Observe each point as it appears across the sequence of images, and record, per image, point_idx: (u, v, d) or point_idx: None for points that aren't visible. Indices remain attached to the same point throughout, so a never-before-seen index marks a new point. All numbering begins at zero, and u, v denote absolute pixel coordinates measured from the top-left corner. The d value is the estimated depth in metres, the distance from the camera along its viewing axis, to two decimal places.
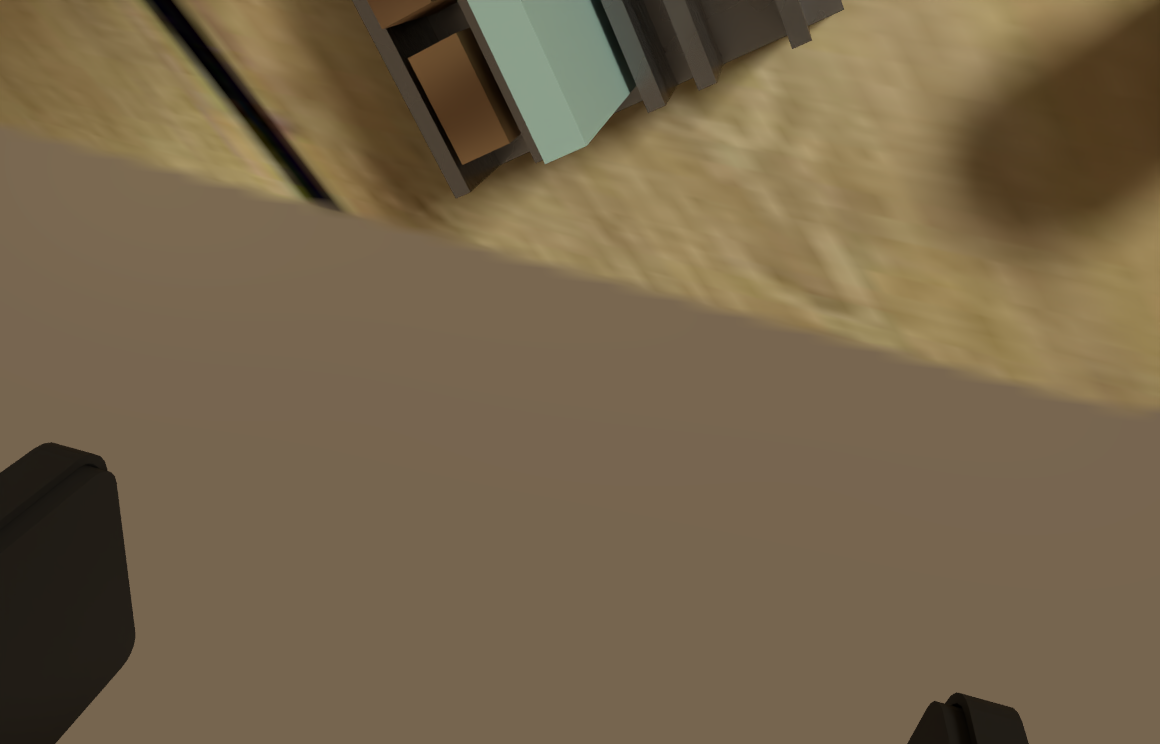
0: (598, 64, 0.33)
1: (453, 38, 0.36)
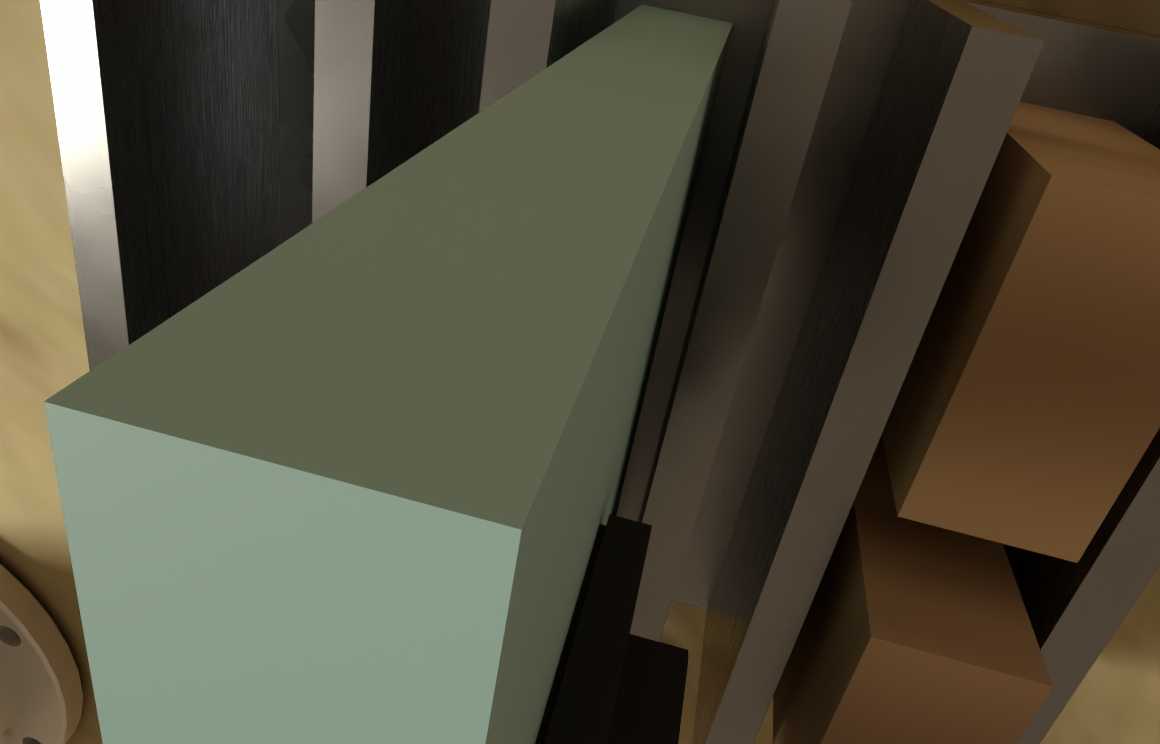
0: None
1: (917, 512, 0.12)
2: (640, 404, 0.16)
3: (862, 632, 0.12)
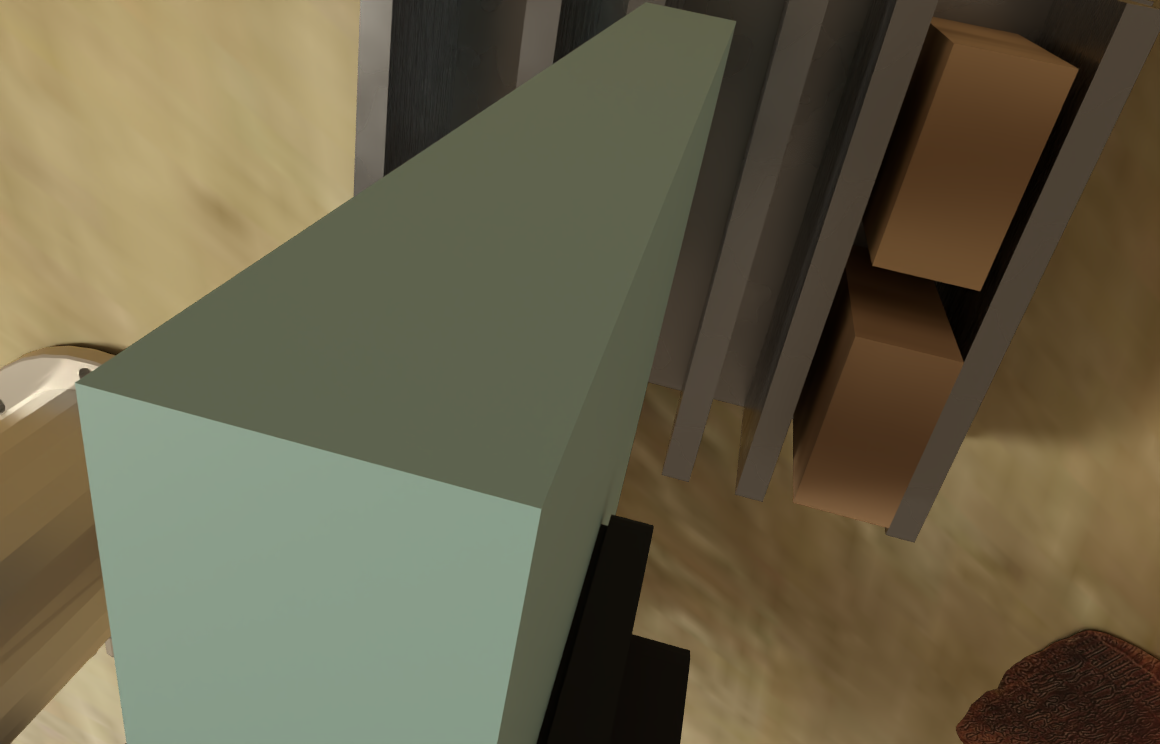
0: None
1: (884, 262, 0.20)
2: (641, 400, 0.16)
3: (850, 339, 0.20)
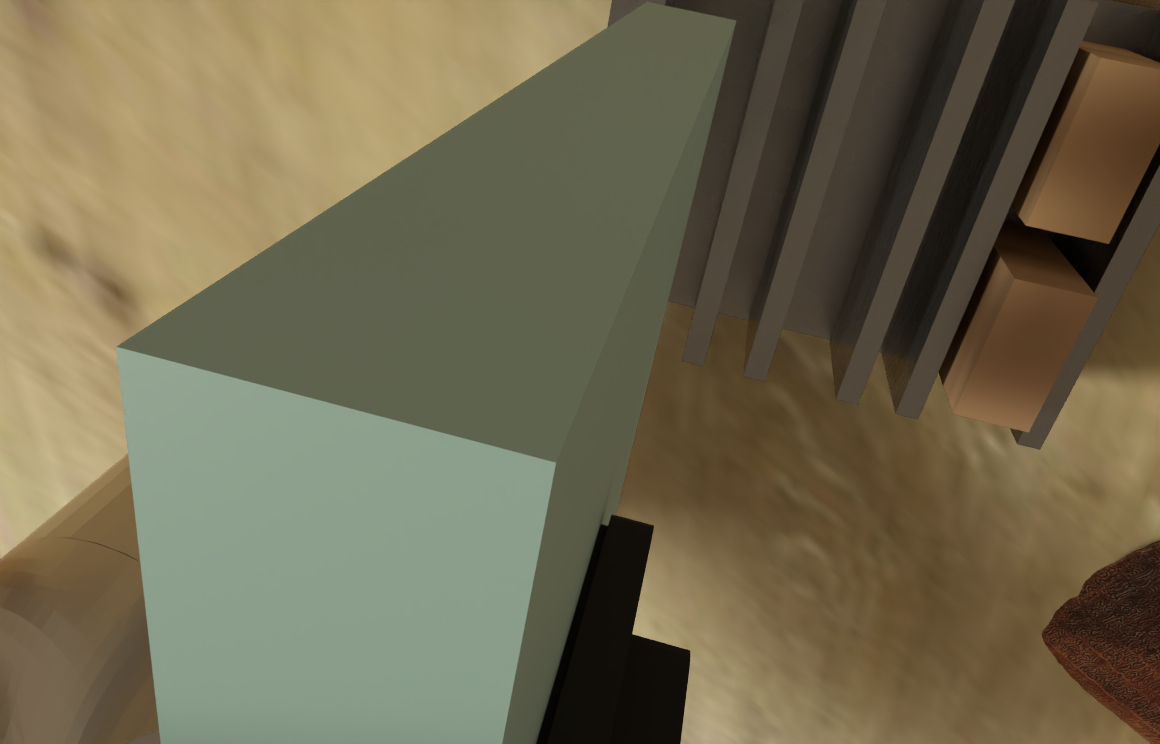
0: None
1: (1035, 222, 0.26)
2: (643, 396, 0.17)
3: (1008, 282, 0.27)
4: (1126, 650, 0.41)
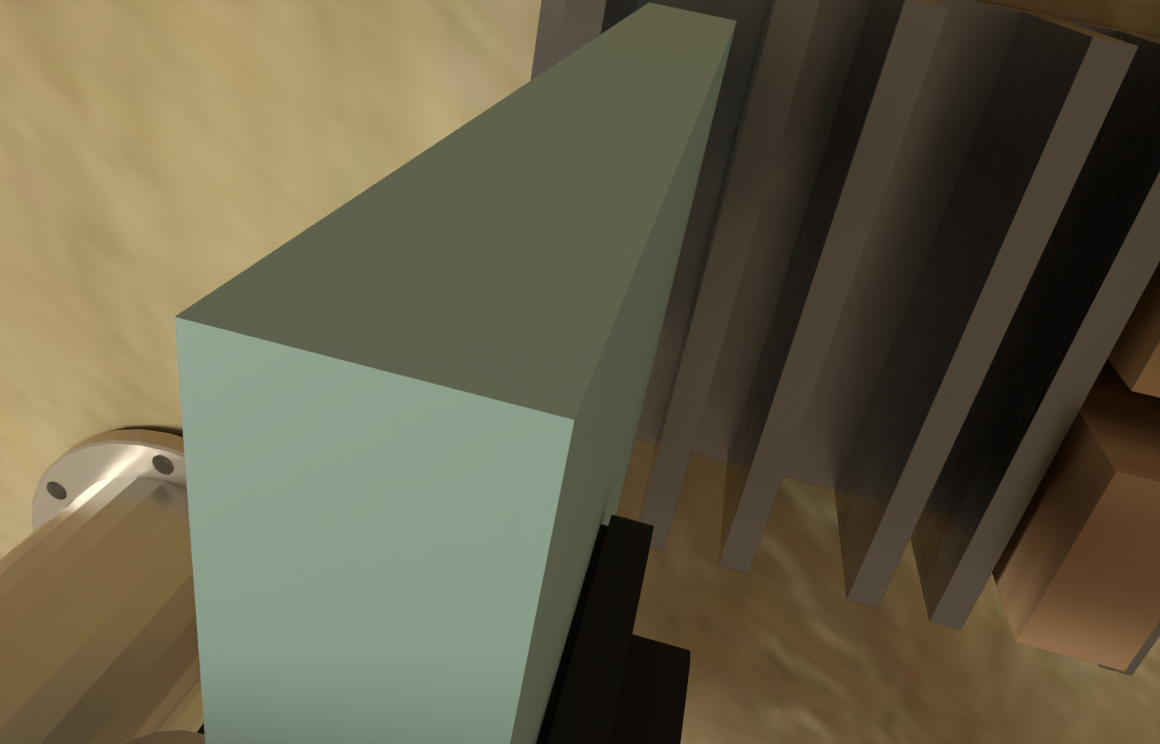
0: None
1: (1146, 387, 0.18)
2: (644, 389, 0.17)
3: (1104, 472, 0.18)
4: None
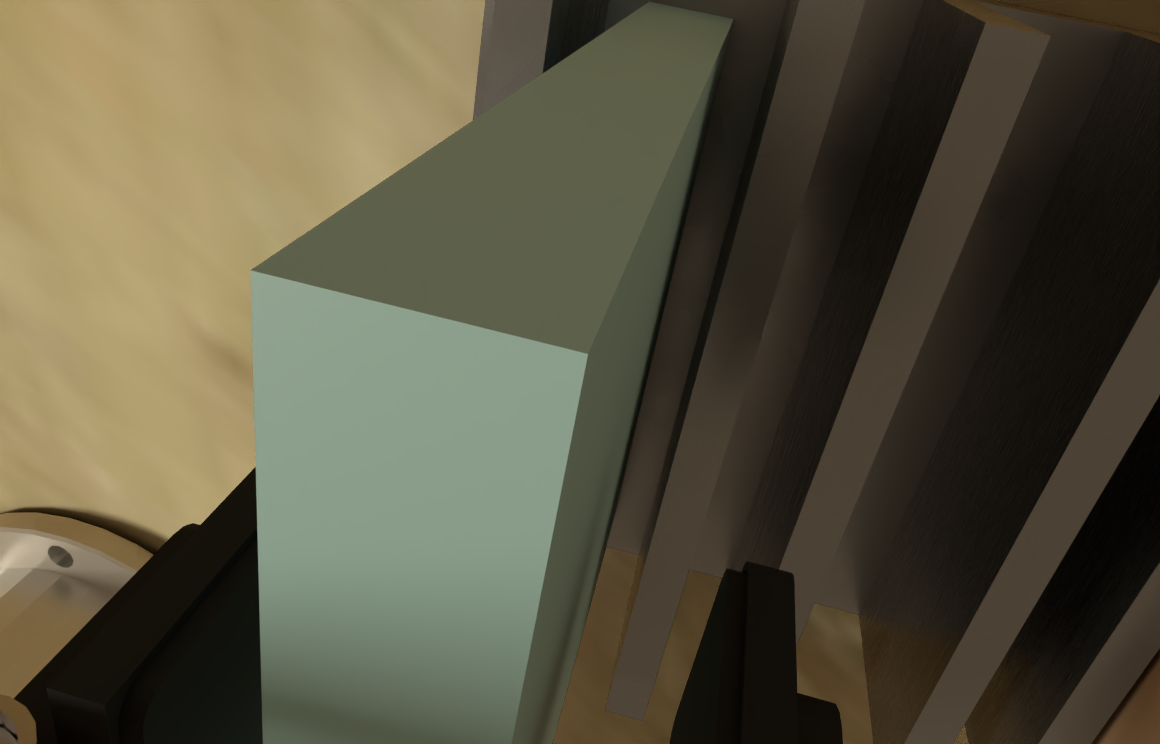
0: None
1: None
2: (646, 375, 0.18)
3: None
4: None
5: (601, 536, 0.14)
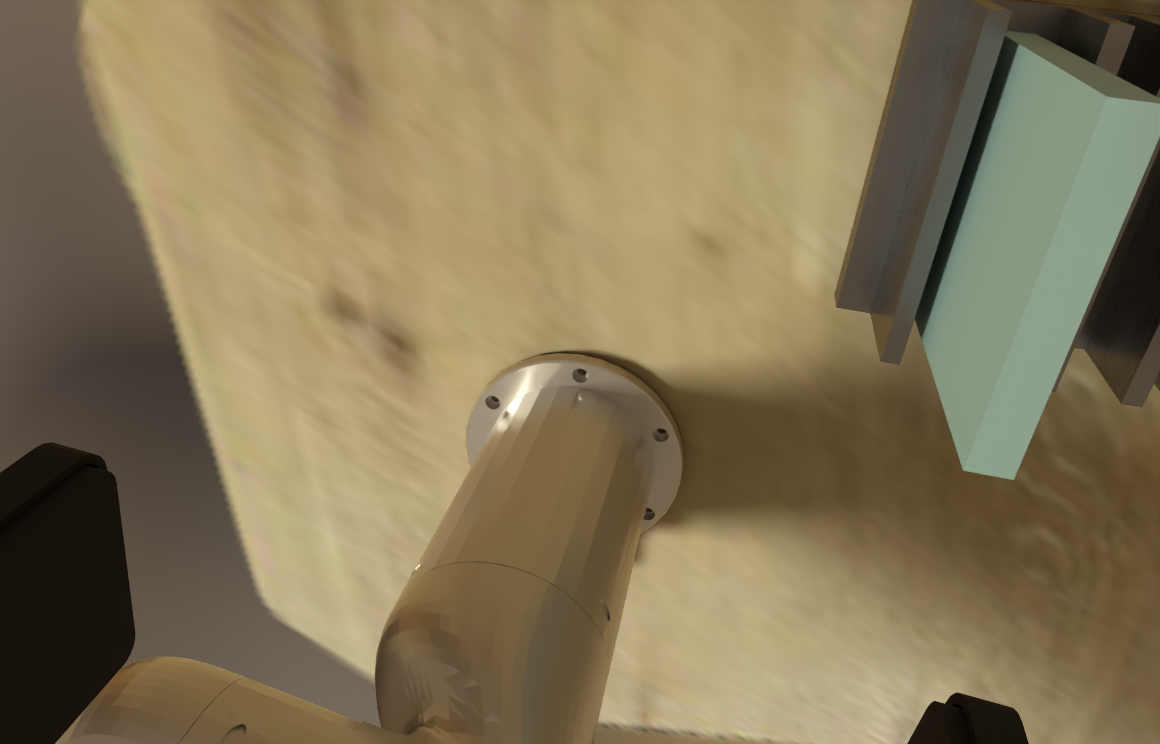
0: (1024, 115, 0.29)
1: None
2: None
3: None
4: None
5: None
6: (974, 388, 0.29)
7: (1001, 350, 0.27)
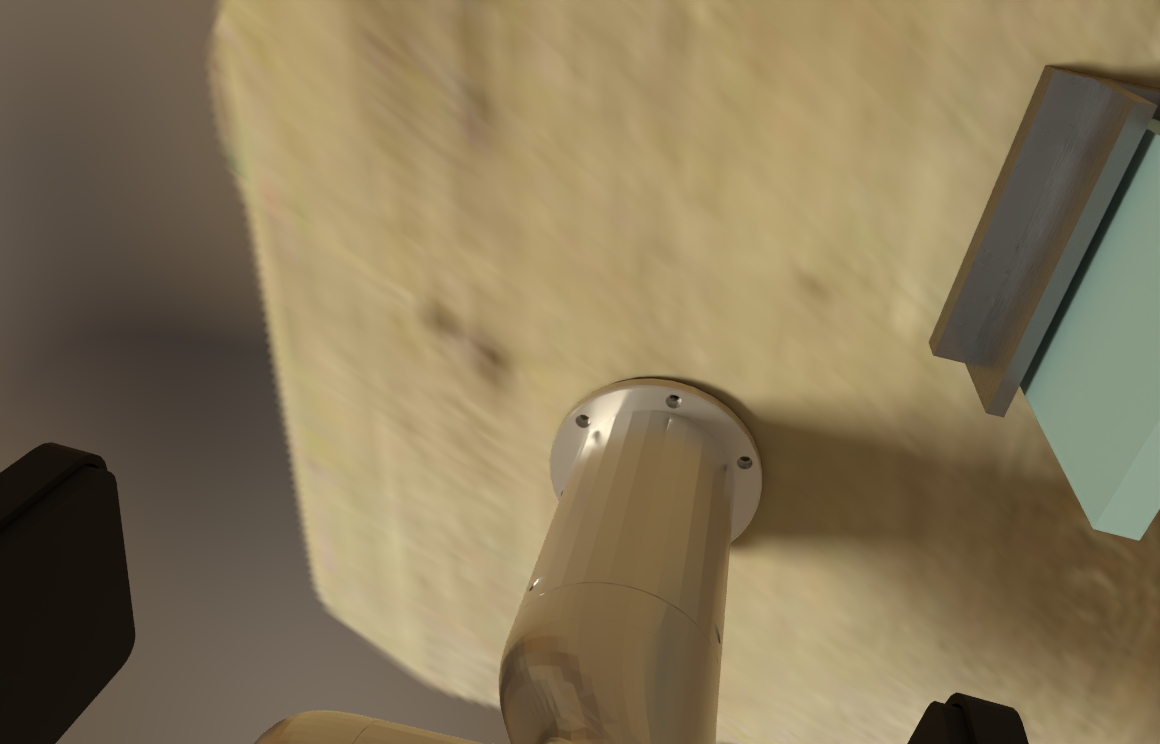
0: None
1: None
2: None
3: None
4: None
5: None
6: (1106, 453, 0.31)
7: (1144, 422, 0.29)
